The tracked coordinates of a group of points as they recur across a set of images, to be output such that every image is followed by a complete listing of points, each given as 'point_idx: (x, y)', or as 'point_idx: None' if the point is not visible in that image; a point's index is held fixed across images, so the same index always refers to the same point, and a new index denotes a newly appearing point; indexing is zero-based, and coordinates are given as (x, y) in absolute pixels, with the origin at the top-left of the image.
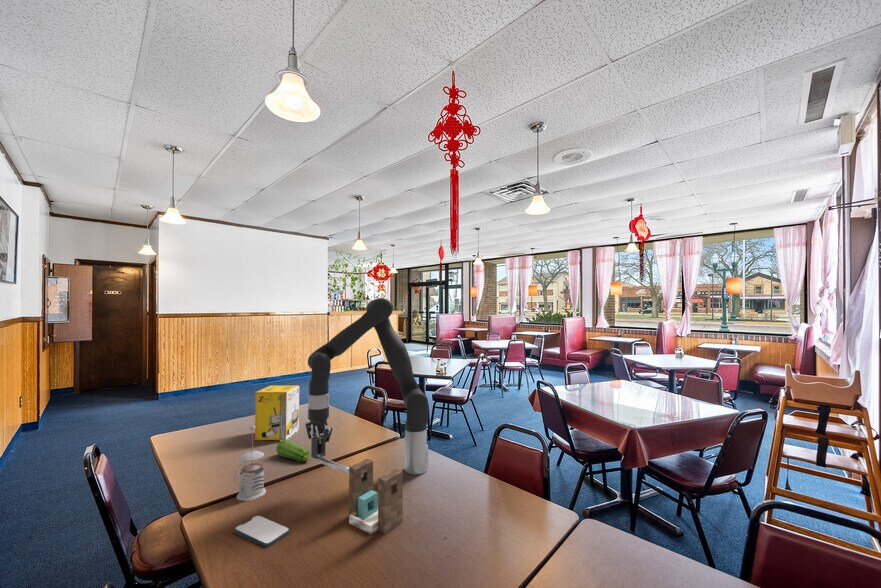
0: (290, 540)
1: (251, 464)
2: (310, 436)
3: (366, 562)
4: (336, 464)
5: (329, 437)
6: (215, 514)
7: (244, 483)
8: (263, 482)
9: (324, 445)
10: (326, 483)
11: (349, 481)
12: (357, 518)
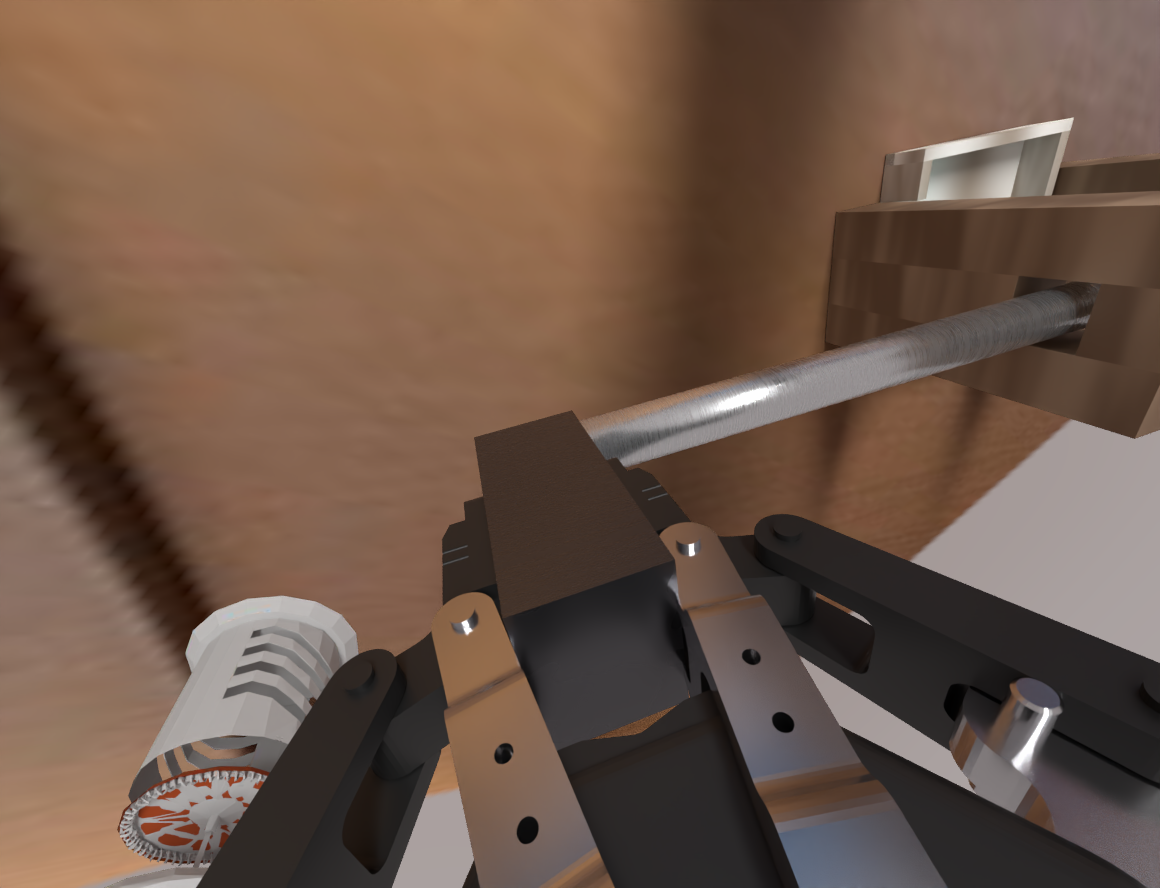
0: None
1: (129, 828)
2: (434, 762)
3: (1019, 412)
4: (833, 400)
5: (889, 564)
6: None
7: None
8: (267, 652)
9: (685, 518)
10: (410, 269)
11: (1006, 395)
12: None
